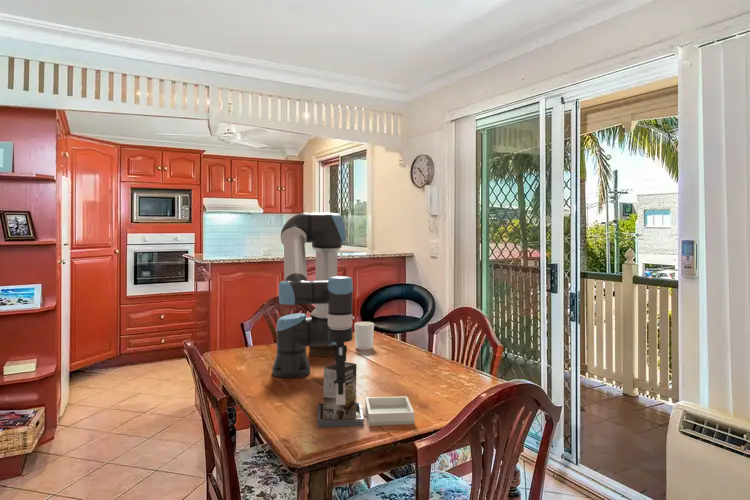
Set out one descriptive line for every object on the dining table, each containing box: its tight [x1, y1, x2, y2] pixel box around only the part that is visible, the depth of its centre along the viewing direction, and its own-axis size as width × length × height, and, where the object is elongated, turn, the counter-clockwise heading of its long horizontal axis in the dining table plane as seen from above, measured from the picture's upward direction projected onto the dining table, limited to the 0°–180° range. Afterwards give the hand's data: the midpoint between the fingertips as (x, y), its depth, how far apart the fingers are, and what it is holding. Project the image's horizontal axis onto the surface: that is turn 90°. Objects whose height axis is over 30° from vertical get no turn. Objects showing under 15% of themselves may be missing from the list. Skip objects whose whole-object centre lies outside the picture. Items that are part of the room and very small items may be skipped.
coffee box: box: [322, 361, 358, 419], centre depth 141 cm, size 9×6×16 cm
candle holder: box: [353, 321, 375, 351], centre depth 227 cm, size 10×10×12 cm
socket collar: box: [316, 401, 365, 428], centre depth 141 cm, size 14×14×2 cm
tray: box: [364, 395, 415, 427], centre depth 143 cm, size 14×14×4 cm
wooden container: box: [308, 313, 335, 358], centre depth 217 cm, size 15×15×22 cm
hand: (340, 396), depth 141 cm, fingers open, 13 cm apart
